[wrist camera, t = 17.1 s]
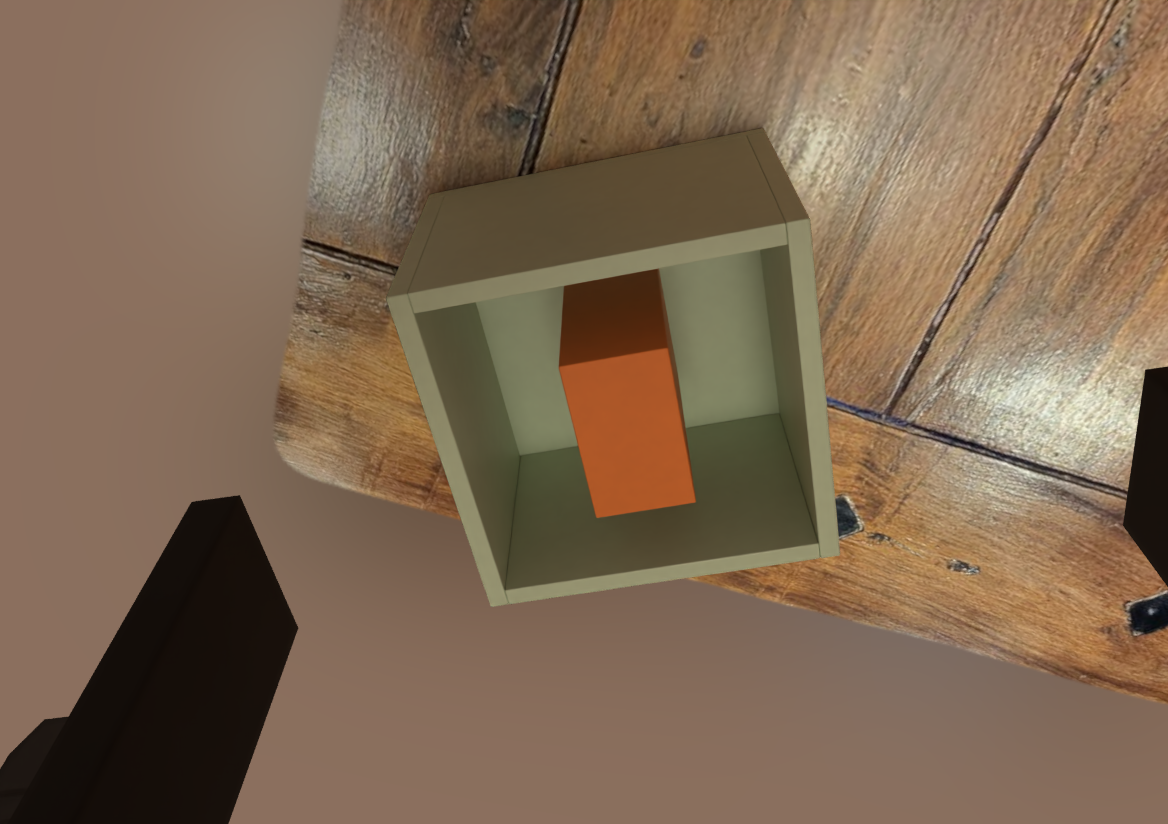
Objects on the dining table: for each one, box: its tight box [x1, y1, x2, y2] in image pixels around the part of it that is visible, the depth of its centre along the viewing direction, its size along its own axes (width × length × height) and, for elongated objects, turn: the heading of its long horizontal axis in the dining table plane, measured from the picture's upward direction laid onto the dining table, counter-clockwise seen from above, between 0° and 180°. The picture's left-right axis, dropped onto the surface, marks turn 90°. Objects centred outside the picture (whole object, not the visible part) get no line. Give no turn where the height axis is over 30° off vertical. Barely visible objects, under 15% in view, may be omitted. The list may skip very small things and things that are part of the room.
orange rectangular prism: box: [559, 268, 696, 518], centre depth 41 cm, size 4×7×10 cm, turn 12°
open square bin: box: [386, 128, 840, 607], centre depth 42 cm, size 15×15×11 cm
